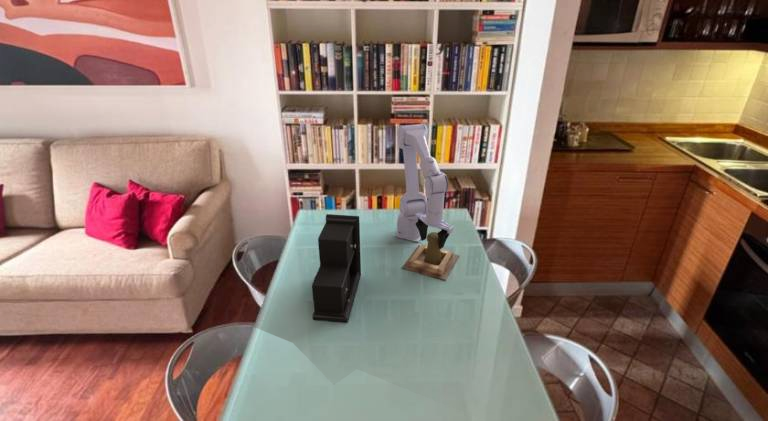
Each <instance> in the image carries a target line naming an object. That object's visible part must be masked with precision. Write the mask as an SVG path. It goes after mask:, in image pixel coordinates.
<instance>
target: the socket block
mask: <svg viewBox="0 0 768 421" xmlns="http://www.w3.org/2000/svg"><path fill="white" fill-rule="evenodd" d="M427 246H428V244H422V243H421V245H420V244H418V245H417V246H416V248H415V249H414V251H413V252H412V253H411V255H410V256H409V257H408V259H406V261H405V262H404V263H403V265H402V266H401V269H403V270H407V271H409V272H414V273H418V274H421V275H423V276H428V277H431V278H435V279H437V280H442V281H447V279H448V277H449V275H450V274H451V271H452V270H453V268H454V266H455V264H456V263H457V261H458V259H459V258H460V254H459V255H458V254H456V253H454V252H453V251H450V250H446V249H443V248H441V249H440V250H441V263H440V264H438V265H433V264H429V263H426V262H425V261H424V260H425V255H426V250H427Z"/></svg>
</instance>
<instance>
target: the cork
mask: <svg viewBox="0 0 768 421" xmlns="http://www.w3.org/2000/svg"><path fill="white" fill-rule="evenodd" d="M437 233H438V232H437V231H431V232H429V233H427V238H426V241H427V242H428V243H427V250H426V255H425V260H424V261H425V262H426V263H429V264H433V265H438V264H440V263H441V250H440V249H439V247H438V246H439V238H438V234H437Z"/></svg>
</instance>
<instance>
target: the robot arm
mask: <svg viewBox="0 0 768 421" xmlns="http://www.w3.org/2000/svg"><path fill="white" fill-rule="evenodd" d="M396 134H397V135H396V136H397V145H398V148H399V149H401V150H402V153H403V154H402V156H403V164H404V165H403V166H404V177H405V179H404V180H405V189H406V192H405V193H404V194H402V195H401V196H400V198H399V215H398V217H397V222H396V235H395V237H396V238H400V239H404V240H407V241H410V242H411V241H412V242H415V243H419V242H420V240H421V242H423V241H426V240H427V236H428V228H429V227H430V228H437V229H440V230H439V231H438V232H437V234H438V238H439V246H438V247H439V249H443V248H444V247H445V245H446V241H447V240H448V238H449V236H450V234H452V233H453V232H454V226H452V225H450V224H449V223H447V222H446V221H445V220H444V218H443V217H444V208H445V207H444V204H445V193H446V192H447V191H448V190H449V184H450V183H449V179H448V176H447V174H445V173H444V172H443V171H441V169H440V167H439V164H438V162H437V160H436V158H435V157H433V156H431V154H430V153H431V152H430V148H429V147H428V142H427V141H428V135H429V130H428V127H427V125H426V124H425V123H420V124H419V123H418V124H406V125H399V126H398V128H397V132H396ZM417 156H418V158H419V160H420V162H419V163H418V158H417ZM418 164H419V167H420V170H421V174H422V175H423V179H424V183H423V184H424V191H425V192H424V193H425V194H424V193H423V192H420V182H419V172H418Z"/></svg>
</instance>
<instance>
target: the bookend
mask: <svg viewBox="0 0 768 421" xmlns="http://www.w3.org/2000/svg"><path fill="white" fill-rule="evenodd" d="M360 224H361V222H360V216H359V215H346V214H330V213H329V214H328V213H326V215H325V223H324V226H323V227H322V230H321V232H320V234H319V235H318V238H317V242H318V243H317V244H318V255H319V267H318V270H317V272H316V274H315V276H314V278H313V281H312V284H311V291H312V292H311V293H312V299H313V314H312V321H322V322H334V323H343V324H348V323H349V319H350V317H351V313H352V310H353V306H354V302H355V298H356V295H357V291H358V287H359V283H360V280H361V277H362V271H361V270H362V267H361V266H362V264H361V263H362V262H361V260H362V258H361V230H360V229H361V226H360Z"/></svg>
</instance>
